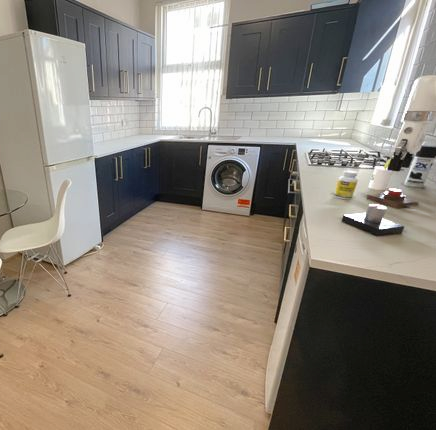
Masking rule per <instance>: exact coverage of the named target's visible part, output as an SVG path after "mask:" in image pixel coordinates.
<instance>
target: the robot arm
mask: <svg viewBox="0 0 436 430" xmlns="http://www.w3.org/2000/svg"><path fill="white" fill-rule="evenodd" d="M435 118H436V74H430V75H422V76H419V77H417V78H416V79H415V81H414V82H413V86H412V88H411V92H410V94H409V96H408V99H407V102H406V105H405V107H404V110H403V113H402V116H401V118H400V122H401V123H402V126H401V129H400V130H399V133H398V134H397V138H396V140H395V143H394V146H393V154H392V155H391V158H390V163H389V165H388V167H387V168H388V169H387V170H390V171H393V172H400V171H401V170H402V168H404V169H410V167H411V165H412V162H413V160H414V156H415V154H416V153H417V152H418V151H420V149H421V146H422V145H423V144H424V140H425V137H426V134H427V131H428V128H429V125H430V123H434V120H435Z"/></svg>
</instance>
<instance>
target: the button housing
mask: <svg viewBox="0 0 436 430" xmlns="http://www.w3.org/2000/svg"><path fill="white" fill-rule="evenodd" d="M388 191H389V190H385V191H382V192H381V193H370V194H367V197H366V200H368V201H371V202H375V203H378V204H379V205H383V206H387V207H390V208H393V209H396V210H398V209H408V208H409V209H410V208H411V206H418V205H419V203H420V202H419V201H417V200H414V199H410V198H407V197H406V196H407V195H406V194H404V193H401V196H397V195H391V194H388Z"/></svg>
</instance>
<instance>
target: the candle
mask: <svg viewBox="0 0 436 430" xmlns="http://www.w3.org/2000/svg"><path fill="white" fill-rule="evenodd" d="M390 160H391V158H389V159H388V160H386V162H385V163H384V166H375V167H374V170H373V173H372V175H371V177H370V182H369V184H368V188H369V189H371V190H376V191H387V187H388V185H389V183H390V180H391V177H392V175H393V172H394V171H390V170H387V169H388V166H389V163H390Z"/></svg>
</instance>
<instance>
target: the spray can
mask: <svg viewBox="0 0 436 430" xmlns="http://www.w3.org/2000/svg"><path fill="white" fill-rule="evenodd" d="M435 159H436V145H428V144H422V146H421V149H420V151H418V152H416V153H415V154H414V157H413V159H412V162H411V164H410V167H409V171H408V173H407V175H406V177H405V181H404V183H403V185H404V186H407V187H410V188H411V187H412V188H424V186H425V183H426V182H427V178H428V176H429V173H430V171H431V170H432V166H433V164H434V162H435Z"/></svg>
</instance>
